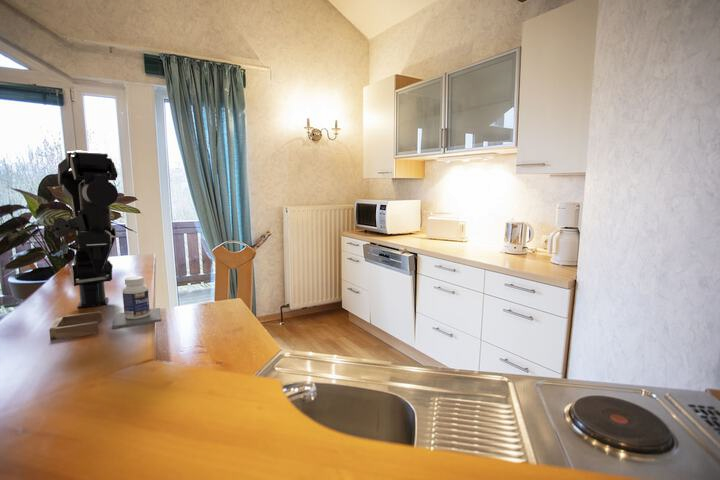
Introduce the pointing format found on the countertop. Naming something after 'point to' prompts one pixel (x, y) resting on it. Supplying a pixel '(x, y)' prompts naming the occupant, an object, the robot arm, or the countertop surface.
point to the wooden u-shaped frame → (75, 325)
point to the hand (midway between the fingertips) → (101, 269)
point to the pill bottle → (135, 298)
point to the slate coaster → (124, 322)
